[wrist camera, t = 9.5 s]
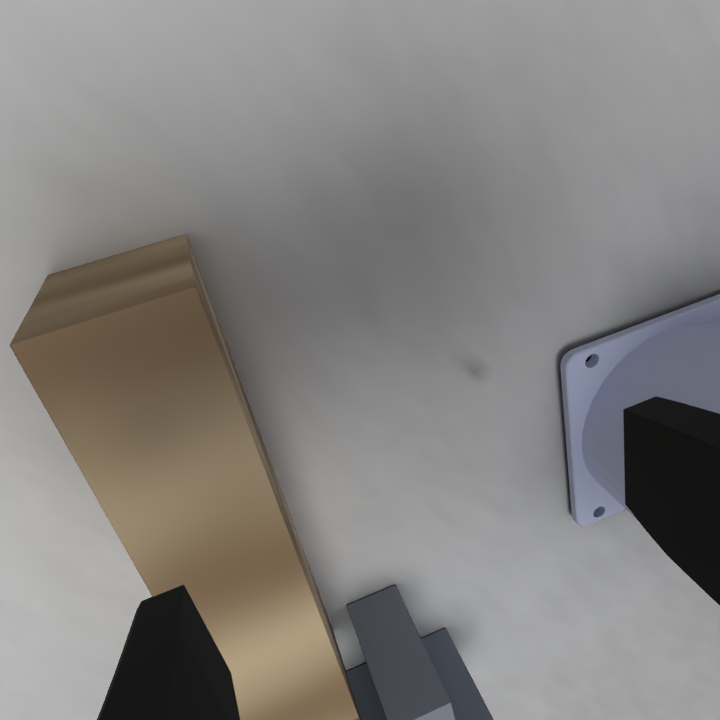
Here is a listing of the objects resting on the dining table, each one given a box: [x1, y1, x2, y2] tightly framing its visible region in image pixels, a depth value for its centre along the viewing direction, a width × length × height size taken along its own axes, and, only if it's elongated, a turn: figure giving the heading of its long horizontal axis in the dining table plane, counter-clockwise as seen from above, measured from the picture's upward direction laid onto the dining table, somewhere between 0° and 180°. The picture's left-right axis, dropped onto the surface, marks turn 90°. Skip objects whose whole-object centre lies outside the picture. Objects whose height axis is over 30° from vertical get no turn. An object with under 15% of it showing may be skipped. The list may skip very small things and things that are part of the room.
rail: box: [10, 234, 361, 720], centre depth 17 cm, size 16×4×4 cm, turn 13°
